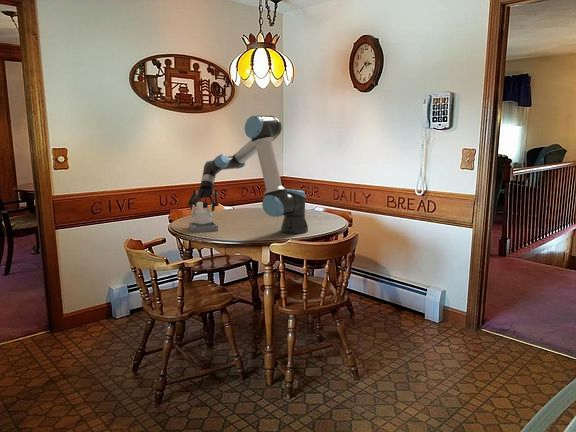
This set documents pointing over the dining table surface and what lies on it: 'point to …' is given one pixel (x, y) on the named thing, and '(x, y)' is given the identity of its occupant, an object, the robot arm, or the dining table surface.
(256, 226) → the dining table surface
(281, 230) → the robot arm
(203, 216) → the medicine bottle
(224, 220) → the dining table surface
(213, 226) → the pill tray
